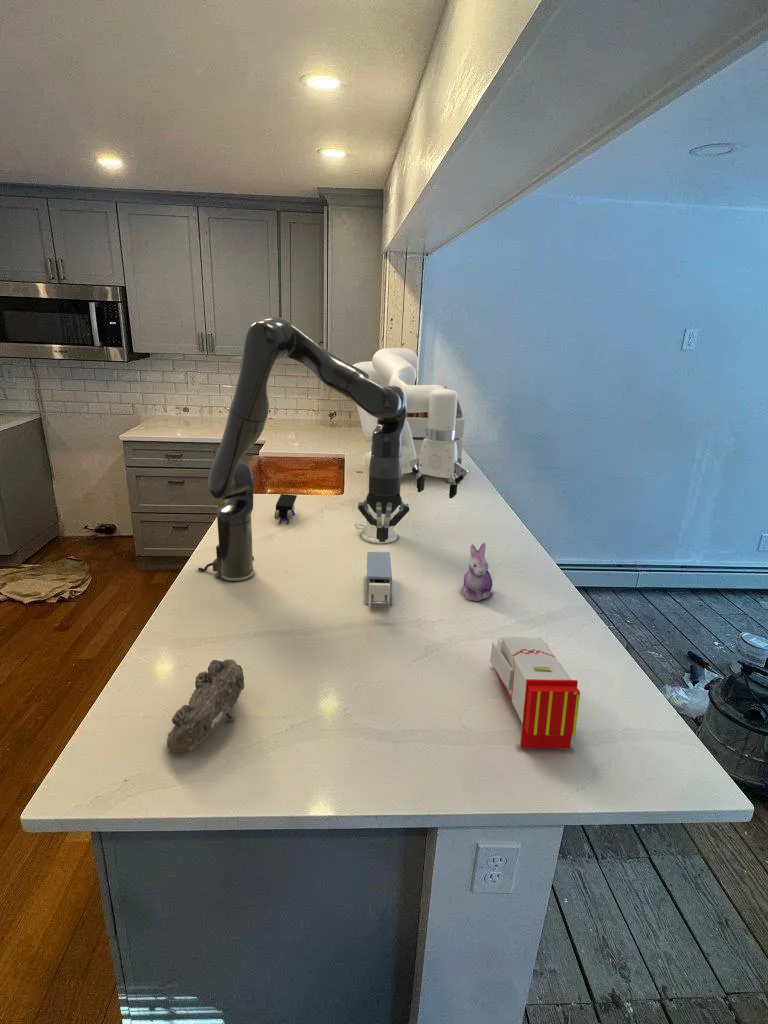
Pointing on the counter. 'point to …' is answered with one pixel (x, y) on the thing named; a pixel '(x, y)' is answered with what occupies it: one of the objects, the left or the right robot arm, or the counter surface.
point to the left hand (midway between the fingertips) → (382, 540)
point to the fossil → (206, 705)
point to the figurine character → (285, 507)
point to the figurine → (477, 576)
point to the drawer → (379, 593)
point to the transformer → (416, 427)
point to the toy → (537, 691)
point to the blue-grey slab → (378, 569)
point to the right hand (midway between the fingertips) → (436, 494)
